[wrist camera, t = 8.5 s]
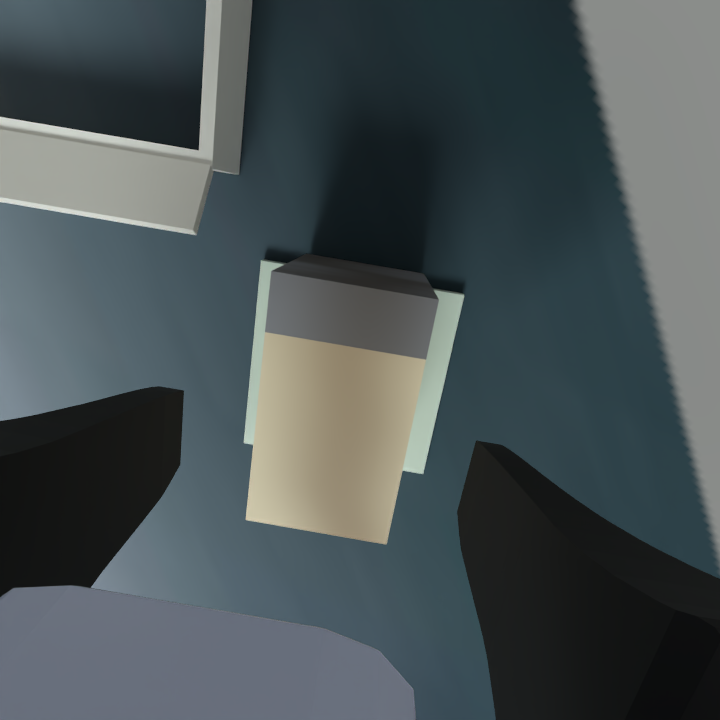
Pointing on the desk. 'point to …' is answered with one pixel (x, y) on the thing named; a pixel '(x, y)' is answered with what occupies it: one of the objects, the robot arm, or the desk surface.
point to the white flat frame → (138, 148)
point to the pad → (430, 381)
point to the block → (338, 394)
